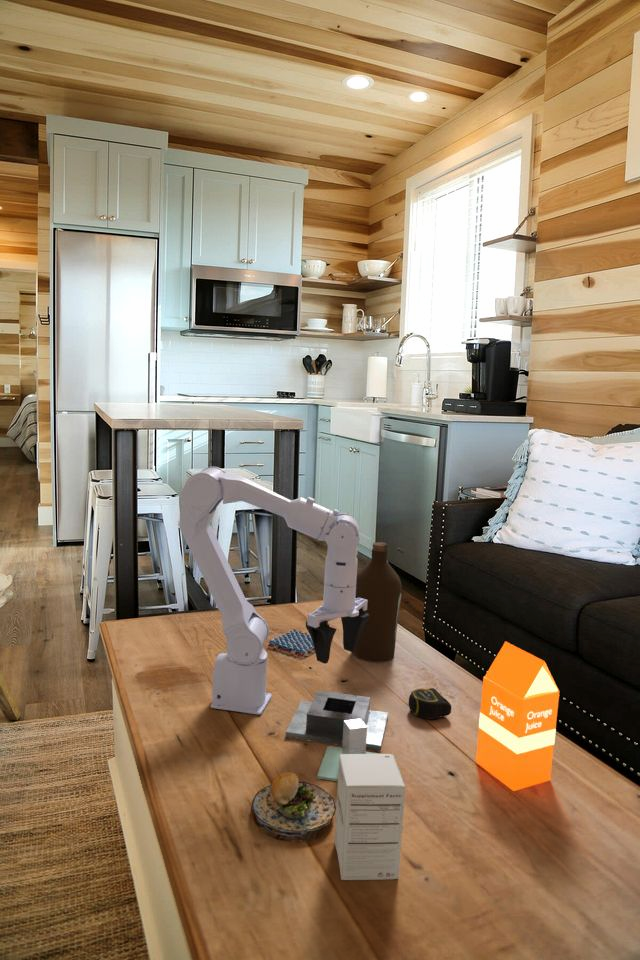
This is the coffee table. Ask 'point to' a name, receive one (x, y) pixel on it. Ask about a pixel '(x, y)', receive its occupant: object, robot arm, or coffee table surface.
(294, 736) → the plate
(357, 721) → the light grey rectangular block
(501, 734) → the orange juice
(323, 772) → the mat
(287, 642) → the woven mat
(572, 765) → the coffee table surface
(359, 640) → the olive oil
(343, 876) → the supplement box
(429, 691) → the tape measure
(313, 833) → the burger
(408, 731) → the coffee table surface
